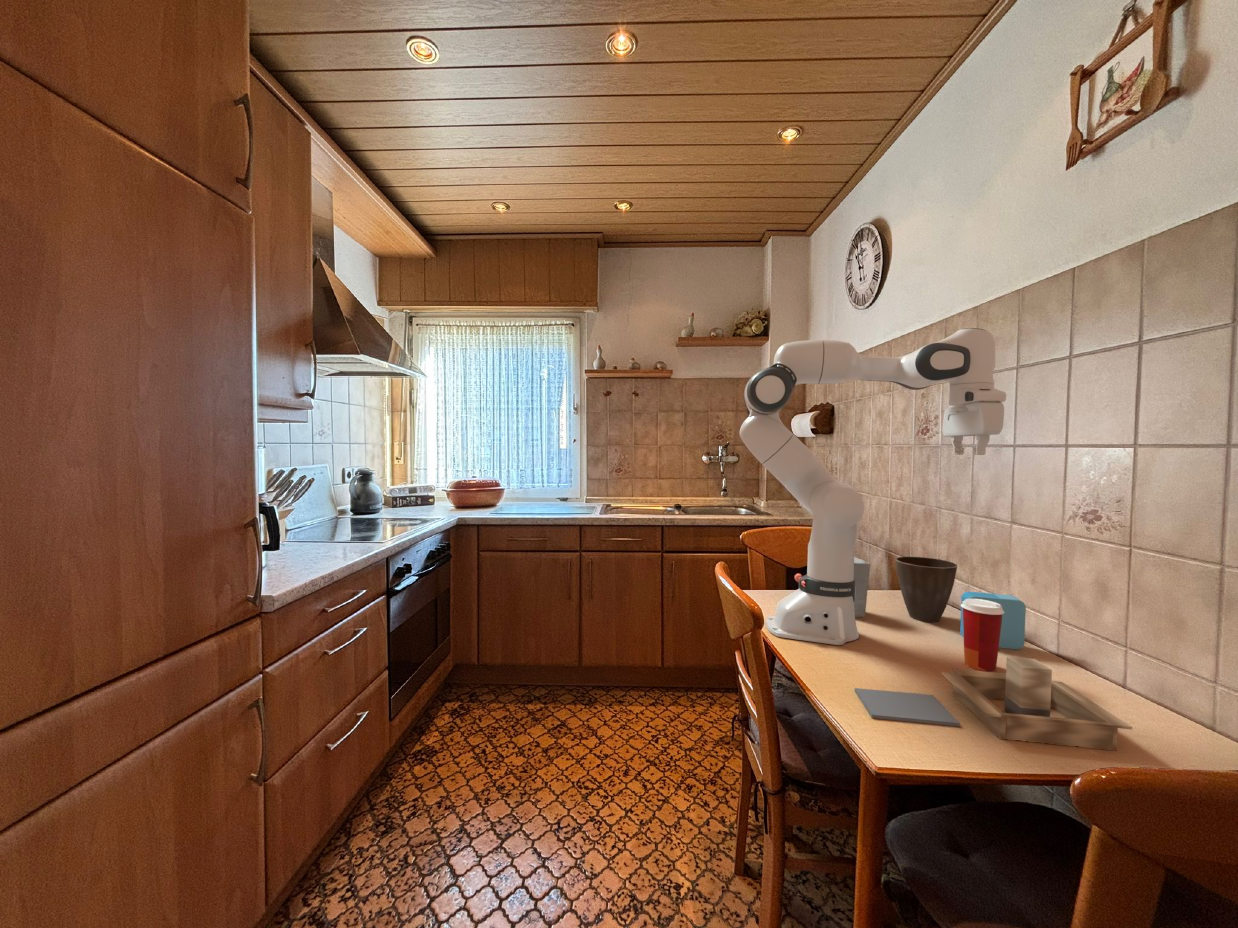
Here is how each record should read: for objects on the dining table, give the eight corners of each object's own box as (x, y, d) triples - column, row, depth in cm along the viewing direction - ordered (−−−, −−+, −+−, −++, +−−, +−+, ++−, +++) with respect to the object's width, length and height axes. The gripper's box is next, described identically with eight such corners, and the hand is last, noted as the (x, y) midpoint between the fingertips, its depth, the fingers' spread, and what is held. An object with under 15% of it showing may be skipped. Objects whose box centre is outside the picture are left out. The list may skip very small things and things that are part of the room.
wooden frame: (987, 738, 82) (988, 714, 82) (936, 687, 100) (937, 667, 99) (1132, 752, 79) (1134, 727, 78) (1053, 697, 96) (1054, 677, 96)
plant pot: (884, 615, 144) (885, 559, 144) (908, 606, 153) (909, 554, 153) (941, 630, 132) (943, 570, 132) (964, 620, 141) (966, 563, 141)
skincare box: (829, 608, 150) (831, 555, 149) (852, 607, 150) (854, 555, 150) (844, 617, 141) (846, 561, 141) (869, 617, 142) (871, 561, 141)
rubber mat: (871, 717, 88) (872, 714, 88) (854, 690, 98) (854, 687, 97) (959, 726, 85) (959, 722, 85) (932, 697, 95) (933, 694, 95)
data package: (1016, 643, 124) (1018, 595, 123) (1024, 650, 120) (1026, 600, 119) (959, 637, 127) (961, 590, 127) (965, 643, 123) (967, 595, 123)
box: (1020, 724, 86) (1022, 667, 86) (1004, 711, 91) (1006, 656, 91) (1049, 727, 86) (1051, 669, 85) (1032, 713, 90) (1034, 658, 90)
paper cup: (1004, 666, 110) (1006, 603, 110) (999, 677, 105) (1002, 610, 104) (961, 655, 116) (963, 595, 115) (955, 665, 110) (957, 602, 110)
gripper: (936, 401, 132) (934, 454, 132) (979, 392, 111) (977, 454, 112) (962, 401, 131) (960, 454, 131) (1011, 392, 110) (1008, 455, 111)
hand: (968, 454), depth 121 cm, fingers open, 8 cm apart
